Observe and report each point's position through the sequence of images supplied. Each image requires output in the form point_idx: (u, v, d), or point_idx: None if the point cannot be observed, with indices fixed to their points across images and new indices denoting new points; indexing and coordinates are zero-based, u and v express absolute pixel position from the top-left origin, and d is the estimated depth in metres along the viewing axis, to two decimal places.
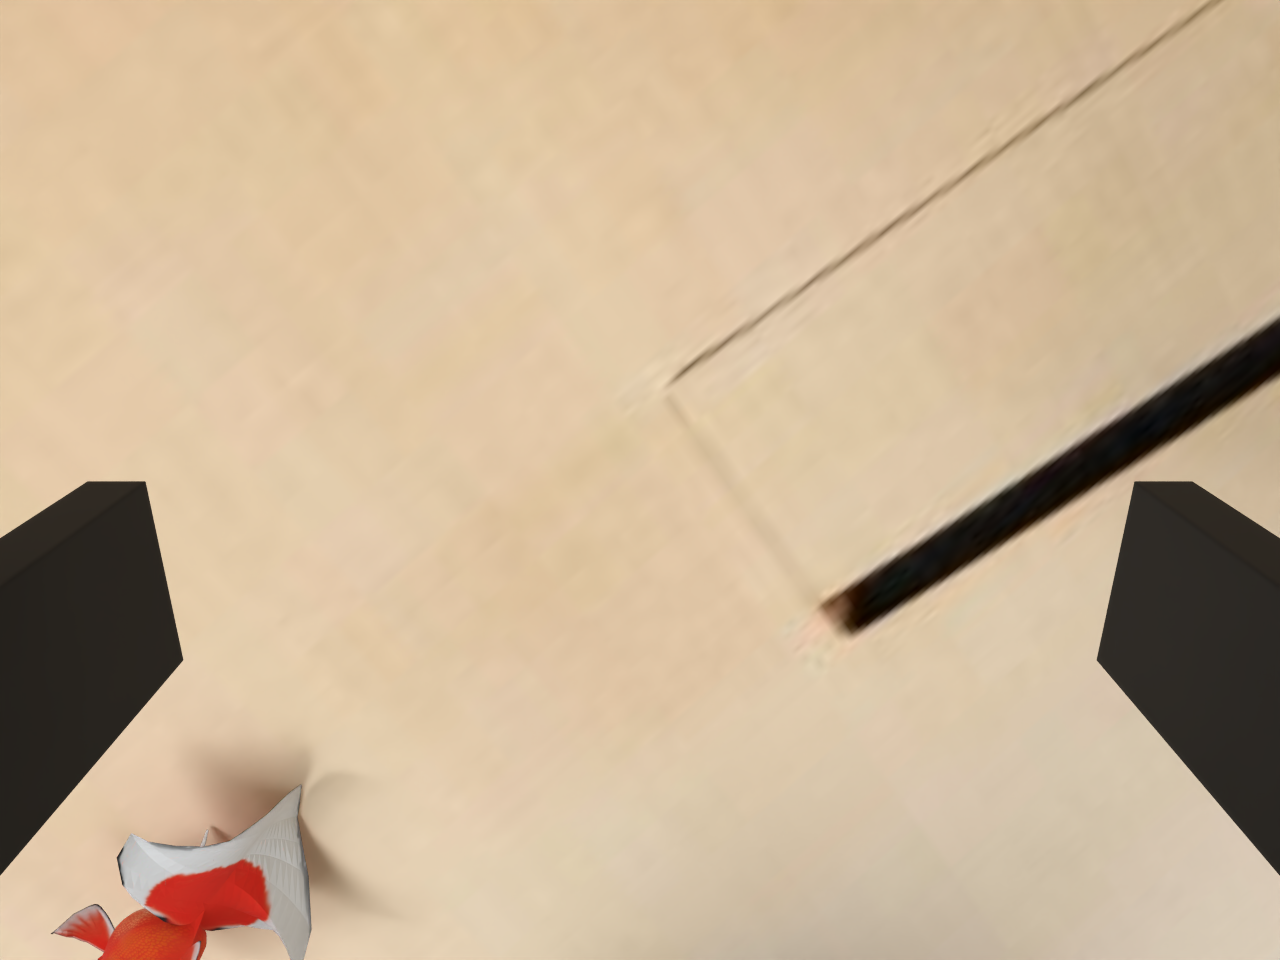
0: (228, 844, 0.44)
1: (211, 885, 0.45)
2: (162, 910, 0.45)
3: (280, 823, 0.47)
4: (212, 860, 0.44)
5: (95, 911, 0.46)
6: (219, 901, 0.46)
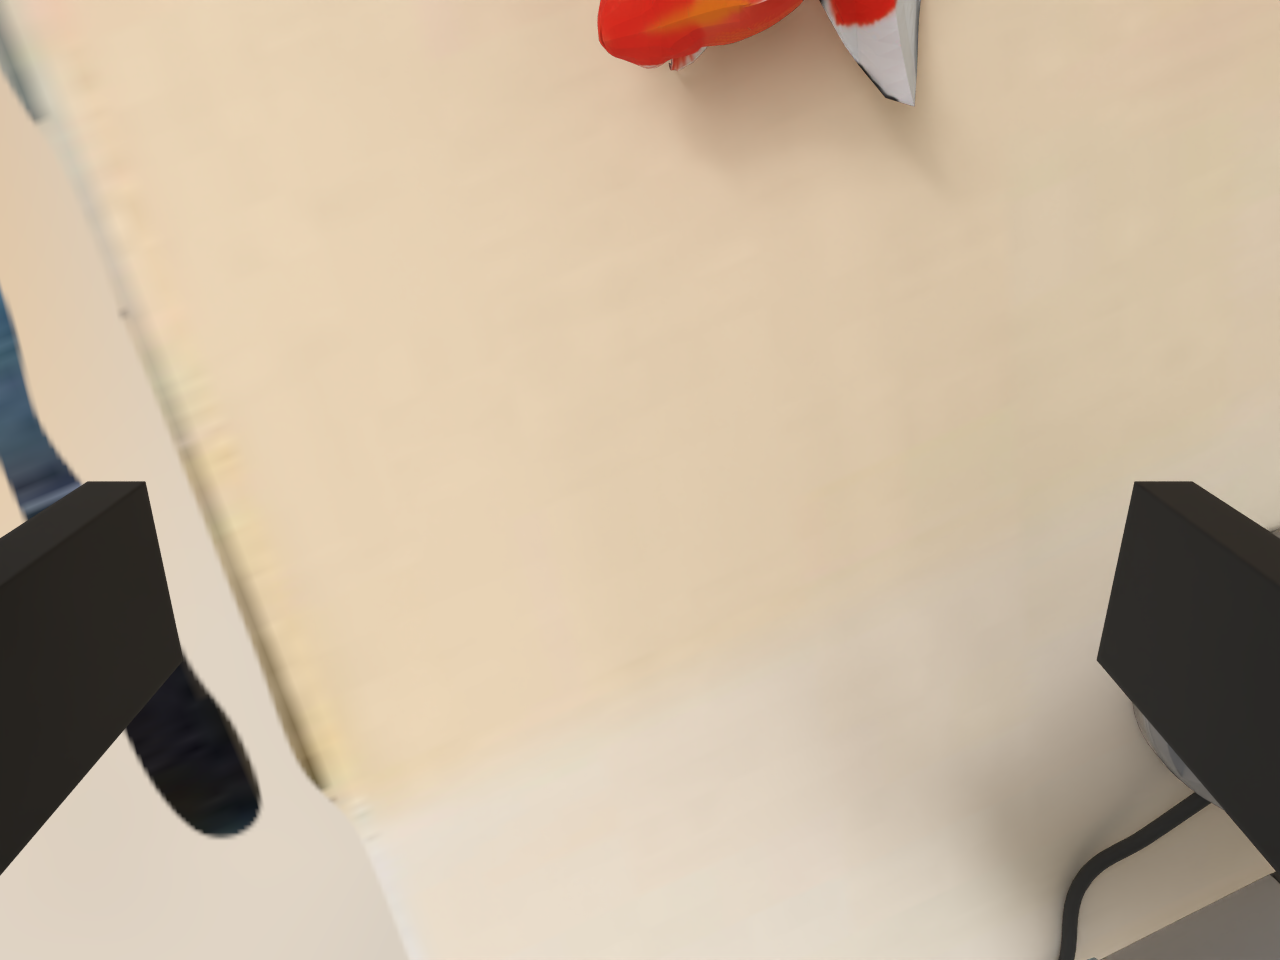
0: None
1: None
2: None
3: None
4: None
5: None
6: None
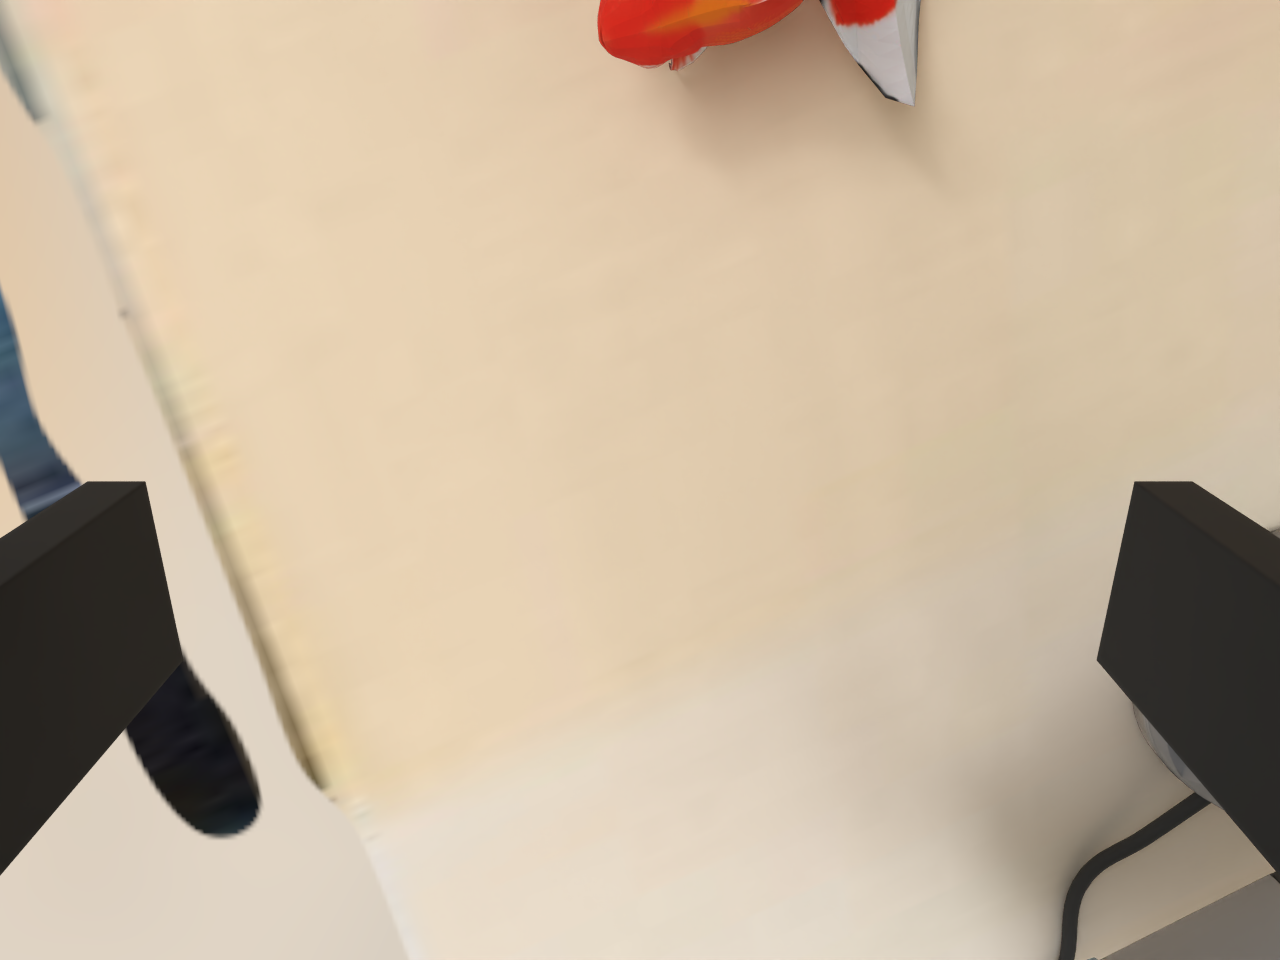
0: None
1: None
2: None
3: None
4: None
5: None
6: None
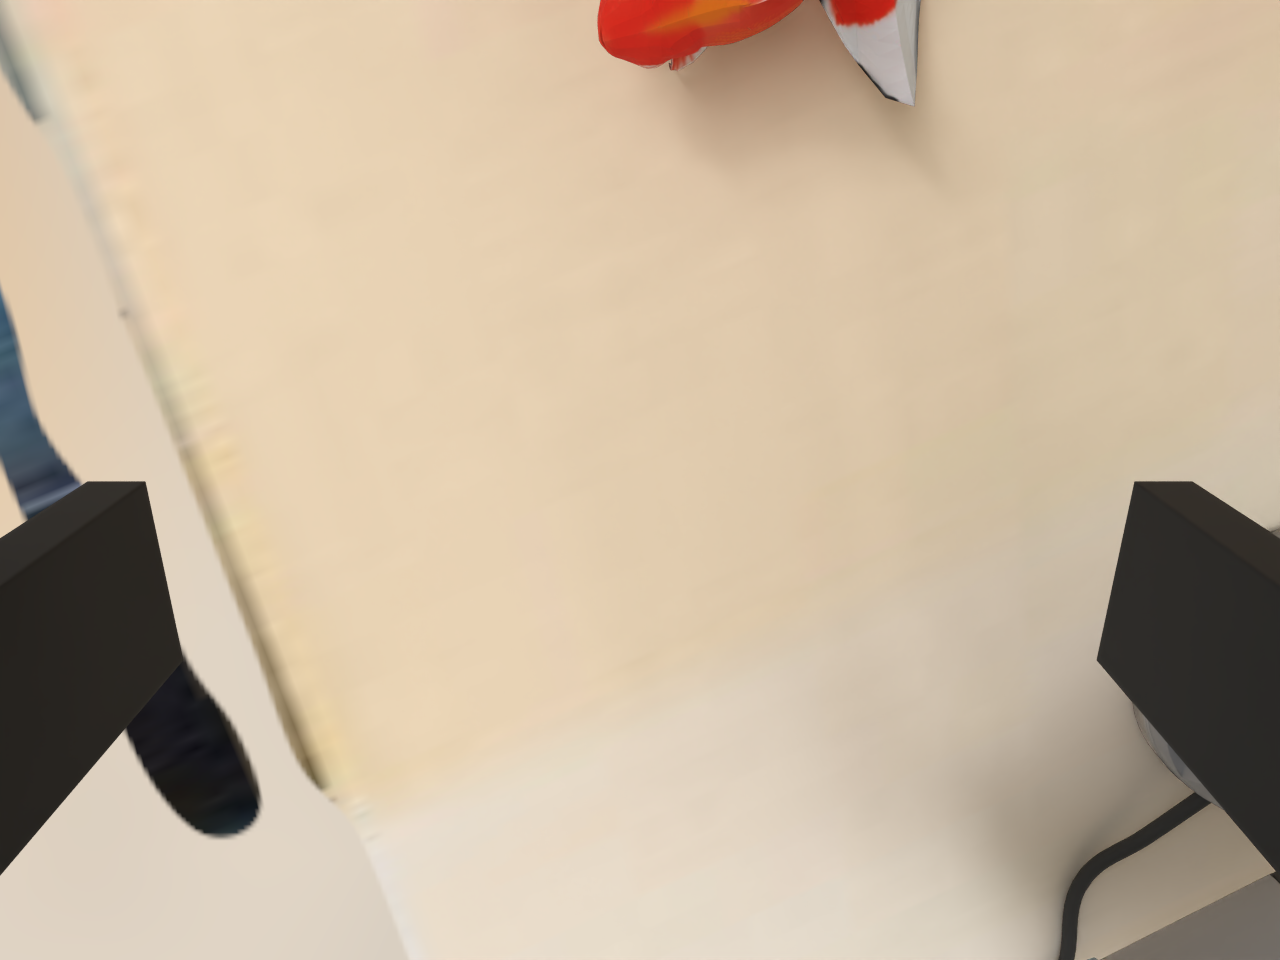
0: None
1: None
2: None
3: None
4: None
5: None
6: None
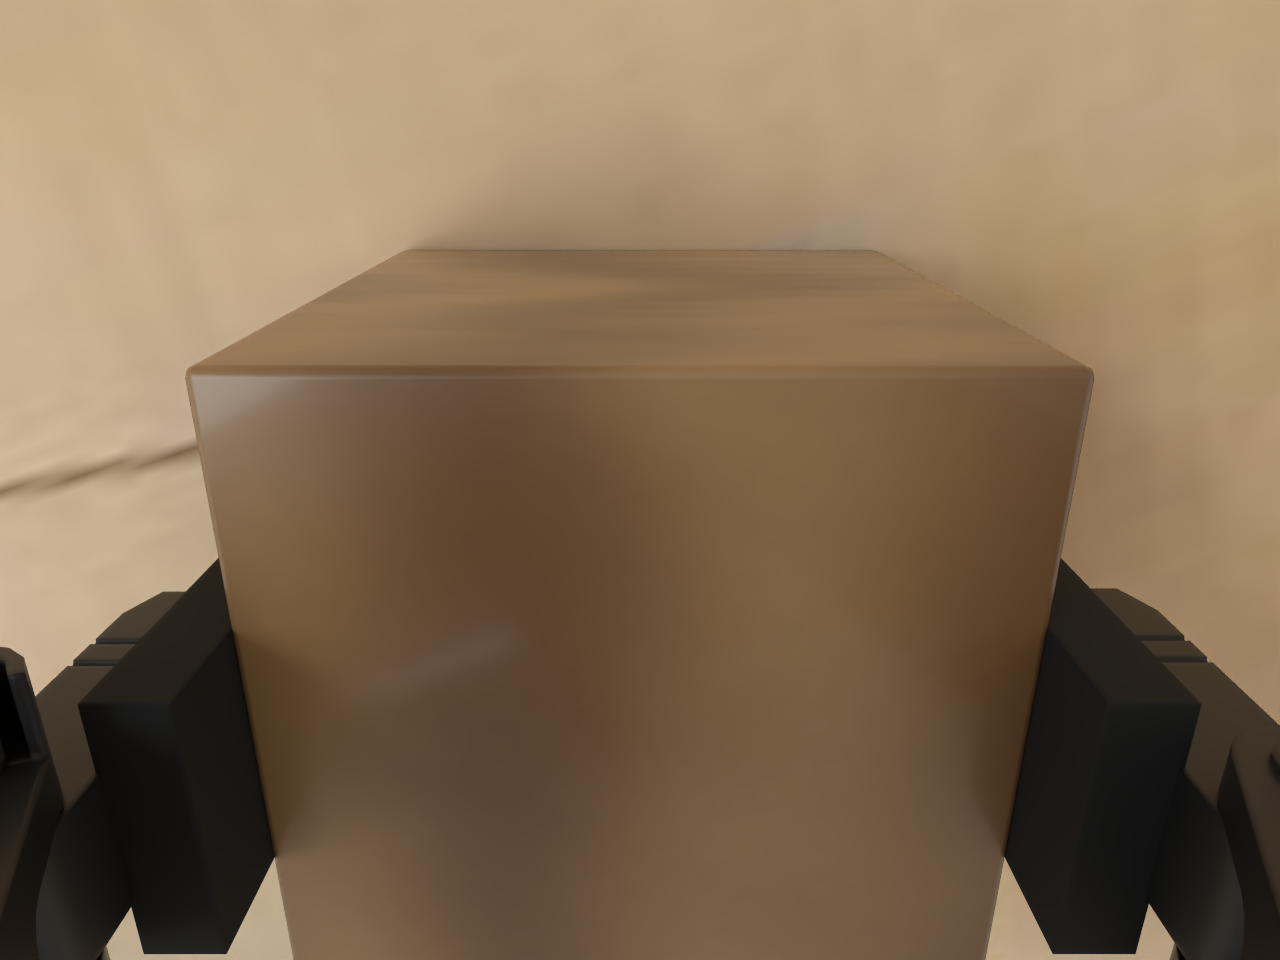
0: None
1: None
2: None
3: None
4: None
5: None
6: None
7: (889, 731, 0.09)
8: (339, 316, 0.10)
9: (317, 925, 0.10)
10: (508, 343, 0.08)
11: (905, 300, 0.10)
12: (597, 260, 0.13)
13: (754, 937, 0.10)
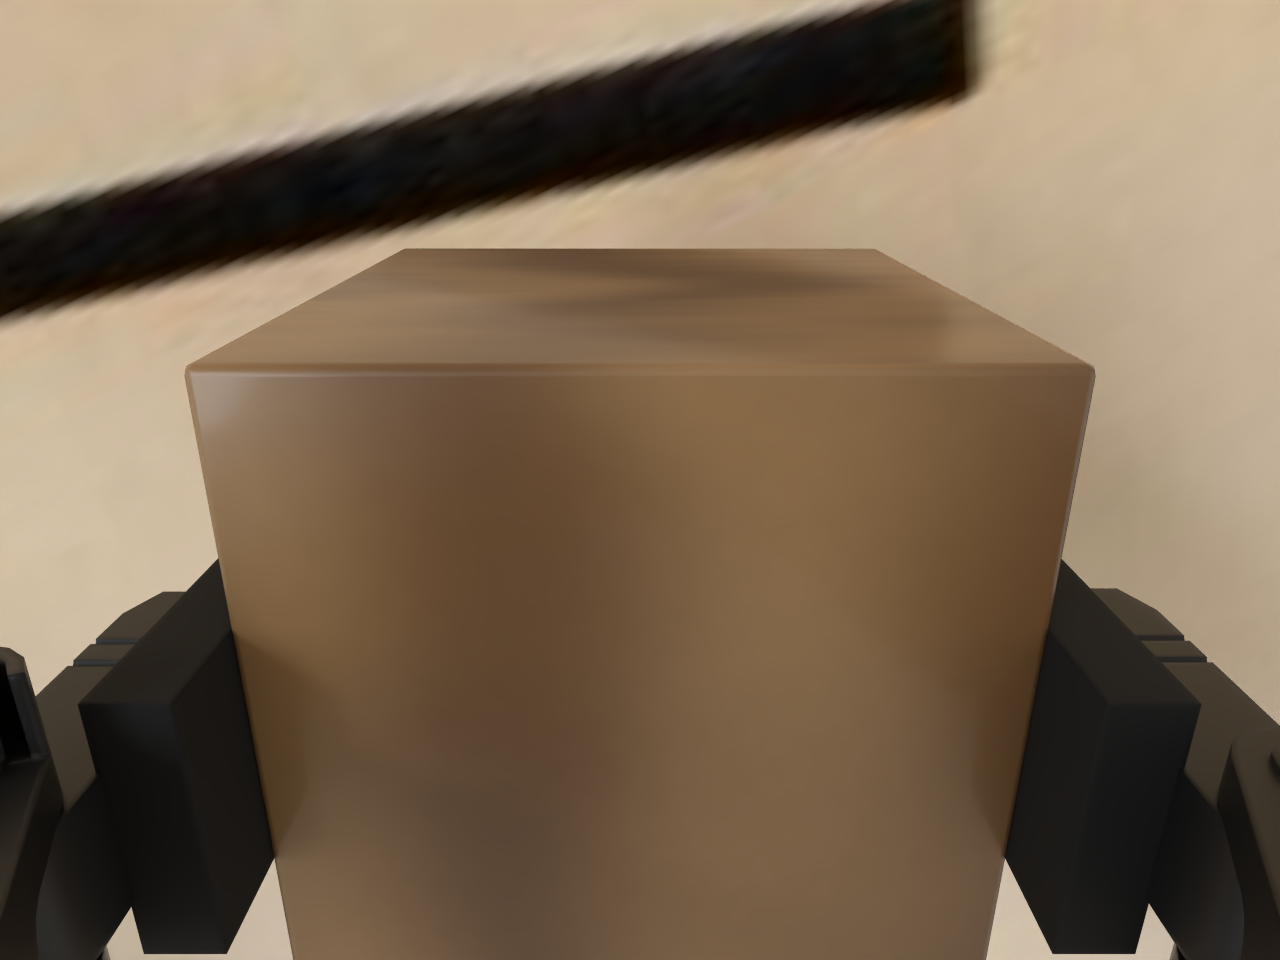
0: None
1: None
2: None
3: None
4: None
5: None
6: None
7: (889, 730, 0.09)
8: (339, 314, 0.09)
9: (317, 925, 0.10)
10: (508, 341, 0.08)
11: (906, 298, 0.10)
12: (597, 258, 0.13)
13: (755, 936, 0.10)
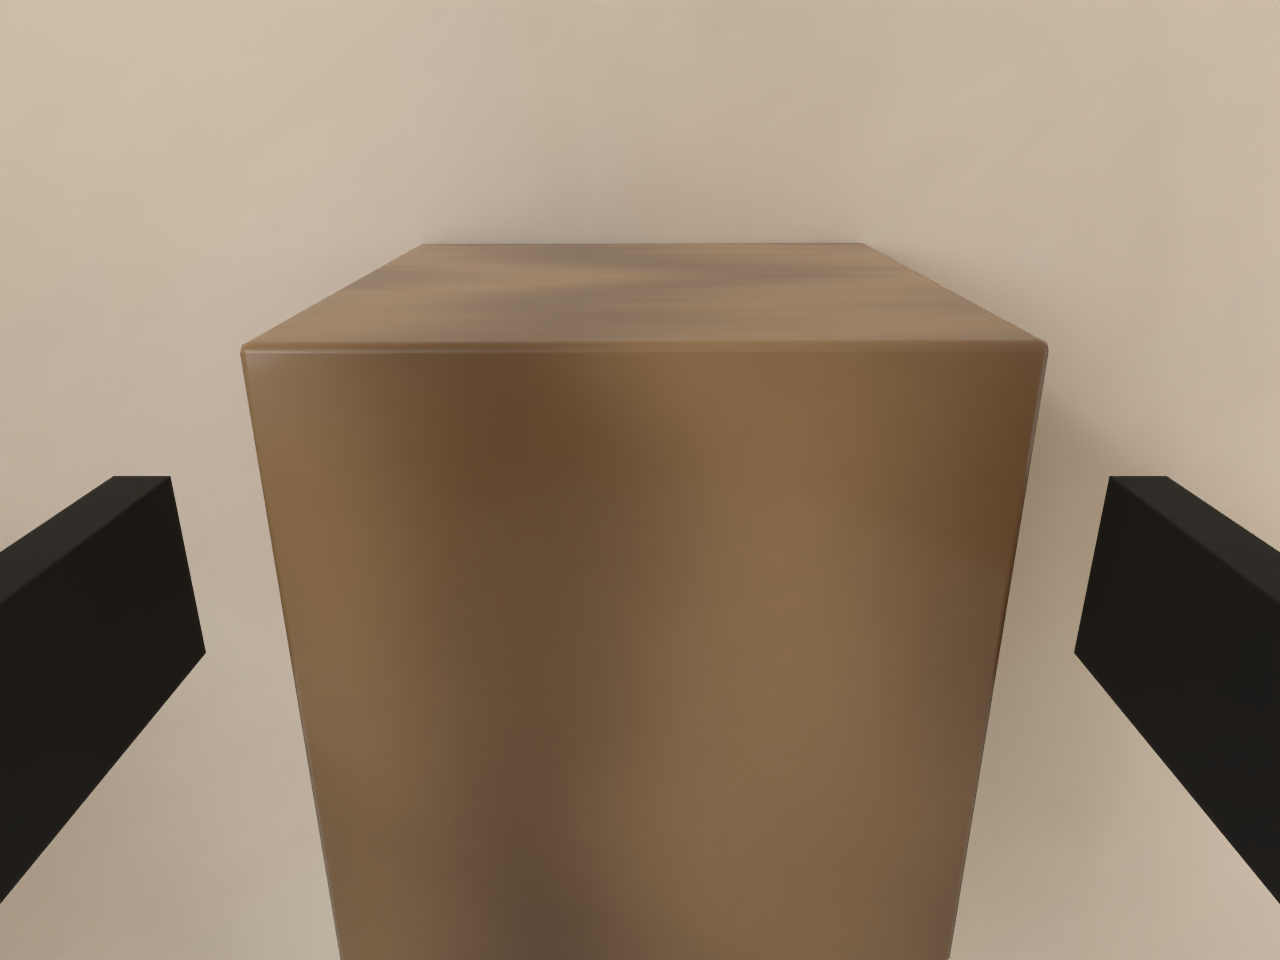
0: None
1: None
2: None
3: None
4: None
5: None
6: None
7: (870, 675, 0.10)
8: (369, 302, 0.10)
9: (352, 858, 0.11)
10: (525, 323, 0.09)
11: (886, 286, 0.11)
12: (602, 253, 0.14)
13: (750, 867, 0.11)
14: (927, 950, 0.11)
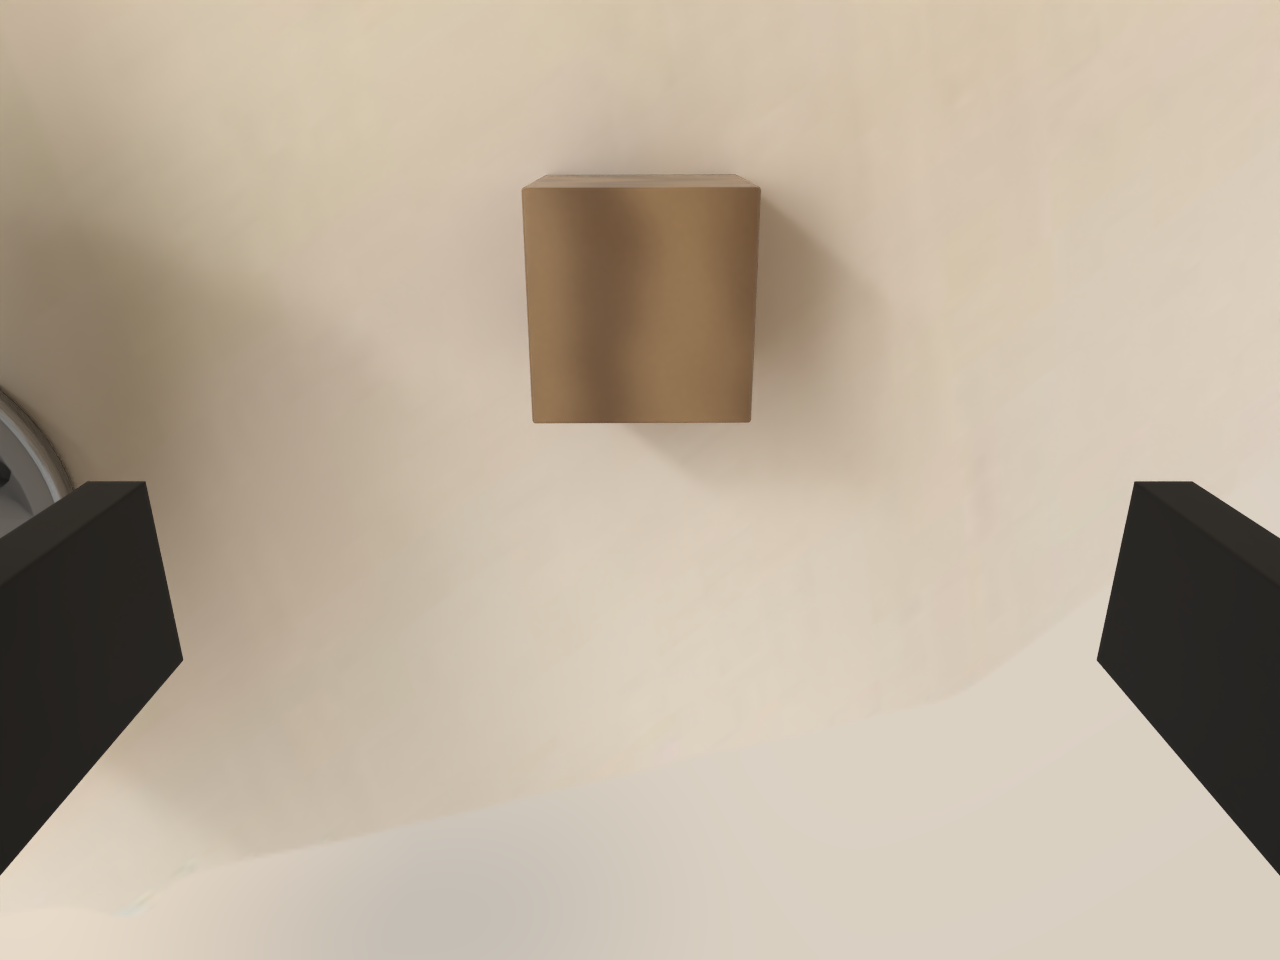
0: None
1: None
2: None
3: None
4: None
5: None
6: None
7: (714, 301, 0.30)
8: (548, 183, 0.31)
9: (540, 375, 0.31)
10: (604, 185, 0.30)
11: (727, 181, 0.32)
12: (624, 176, 0.35)
13: (677, 379, 0.31)
14: (742, 416, 0.31)
